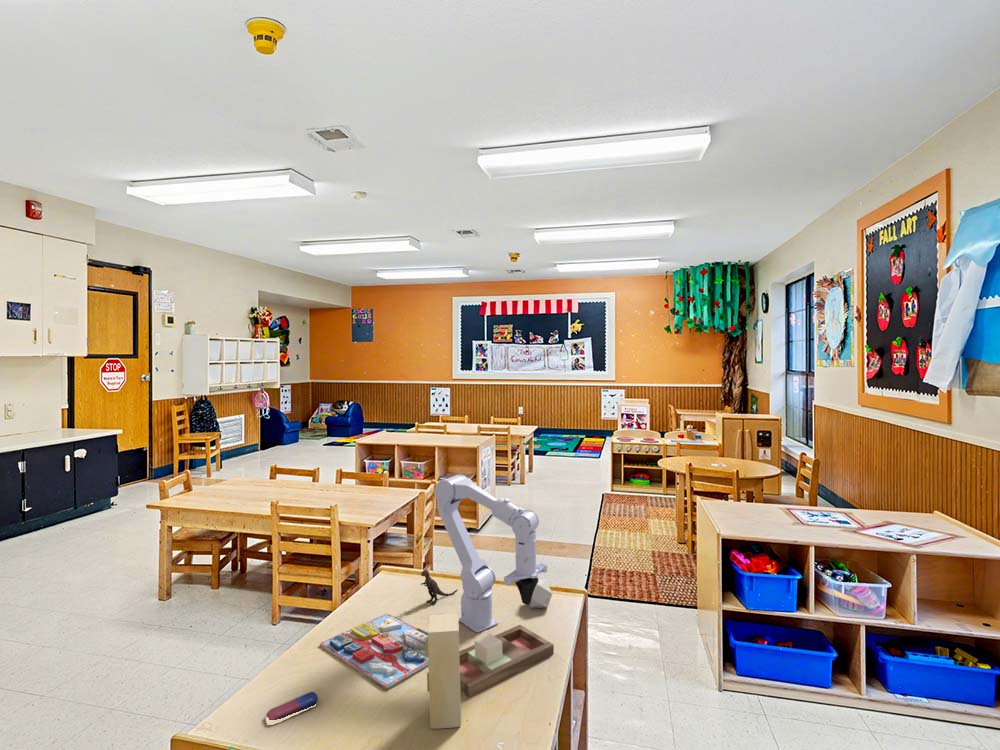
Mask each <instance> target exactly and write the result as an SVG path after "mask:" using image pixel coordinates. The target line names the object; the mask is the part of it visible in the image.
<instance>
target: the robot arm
mask: <svg viewBox="0 0 1000 750" xmlns="http://www.w3.org/2000/svg"><path fill="white" fill-rule="evenodd" d="M433 493H434V497H435V498H436V502H437V506H436V507H437V512H438V514H439V517H440V520H441V521H442V523H443V525H444V528H445V530H446V533H447V534H448V536H449V539H450V541H451V543H452V545H453V548H454V550H455V552H456V555H457V557H458V560H459V561H460V564H461V566H462V567H461V572H460V575H459V577H460V579H461V583H462V591H463V593H462V595H461V597H460V618H459V617H458V620H459V622H461V623H462V624H463V625H465V626H466V627H468V628H469V629H471V630H472V631H474V632H475V633H481V632H482V631H485V630H487V629H489V628H492V627H494V626H496V625H498V624H499V621H497V620H496V619H494V618H493V602H492V599H493V598H492V597H493V595H492V591H493V586H494V585H495V583H496V574H495V571H494V570H493V569H492V568H491V567H490V566H489V565H488V564H489V563H487V561H486V560H485V559H483V558H481V557H479V554H478V552H477V549H476V547H475V546H474V543H473V541H472V539H471V537H470V534H469V532H468V530H467V528H466V526H465V523H464V521H463V519H462V517H461V515H460V512H459V509H458V507H459V505H460V503H461V500H462V499H470V500H471V501H474V502H475V503H477V504H479V505H481V506H483V507H485V508H487V509H489V510H490V511H491V514H492V516H493V518H496V519H498V520H500V521H501V522H502V523H504V524H506V525H507V526H508V527H510V528H511V530H512V532H513V533H514V535H515V538H514V539H515V541H514V542H515V569H514V570H513V571H511V572H510V573H508V574H507V575H506V576H503V584H504V585H506V586H507V587H509V586H510V587H511V586H512V584H513V583H515V585H516V587H517V590H518V591H519V595H520V598H521V603H522V604H524V605H526V606H528V605H530V603H531V599H532V595H533V591H534V589H535V587H536V585H537V583H538V580H539V576H538V575H539V574H541V573H547V572H548V565H547V564H545V563H540V564H539V563H538V564H537V537H536V536H537V535H536V534H537V533H536V529H537V528H538V526H539V524H540V519H539V517H538V514H536V512H534V511H533V510H532V509H524V508H523V507H520V506H517V505H515V504H514V503H513V502H510V499H509V498H507V497H506V498H503V497H501V498H498V499H497V498H496V497H495V496H493V495H491V494H490V493H488V492H487V491H485V490H484V489H483V488H481V487H480V486H478V485H477V484H475V483H474V482H473V480H472V479H471V478H469V477H467V476H465V475H463V474H462V473H458V474H454V475H453V476H451V477H449V478H446V479H442V480H439V481H438V482H437V483H436V486H435V488H434V492H433Z"/></svg>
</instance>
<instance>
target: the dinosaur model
mask: <svg viewBox="0 0 1000 750" xmlns="http://www.w3.org/2000/svg"><path fill="white" fill-rule="evenodd" d="M420 575H421V577H424V578H425V580H424V582H421V583H420V586H422V585H423V586H424V587H426V588H427V590H428V594H429V596H430V599H428V600H426V601H425V602H426V603H427V604H429V603H430V605H431V606H434V605H436V603H437V602H438V595H439V596H441V597H449V596H452V595H454V594H455V593H457V592H458V589H456V590H454V591H452V592H451V593H445V592H444V591H442V590H441V589H440V587H439V585H438V583H437V581H435V580H434V579H433V578H432V577H431V576H430V572H429V569H423V570H422V571H421V573H420Z"/></svg>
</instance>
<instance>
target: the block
mask: <svg viewBox="0 0 1000 750" xmlns="http://www.w3.org/2000/svg"><path fill="white" fill-rule="evenodd" d="M474 645H475V656H476V657H477V658H479V659H480V660H482V661H483V662H484V663H486V664H489V663H491V662H493V661H495V660H497V659H499V658H501V657H502V641H501V640H499V639H498V638H496V637H495V635H493V634H492V633H488V634H485V635H484V636H481V637H479V638H477V639H475V640H474Z"/></svg>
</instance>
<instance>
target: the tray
mask: <svg viewBox="0 0 1000 750" xmlns="http://www.w3.org/2000/svg"><path fill="white" fill-rule="evenodd" d="M494 636H495V637H496V638H498V639H499V640H501V641H502V657H501V658H499V659H497V660H495V661H493V662H491V663H489V664H486V663H484V662H483V661H482V660H480V659H479V658H477V657H476V656H475V644H472V645H469V646H468V647H466V648H463V649H462V650H461V649H460V650H459V660H460V692H463V693H464V694H465V695H466V696H467V697H468V698H470V697H472V696H474V695H476V694H478V693H479V692H482V691H483V690H485V689H487V688H489V687H492V686H493V685H495V684H497V683H499V682H501V681H503V680H505V679H507V678H509V677H510V676H513V675H515V674H517V673H519V672H520V671H521V672H522V671H523V670H525V669H527V668H528V667H531V666H532V665H534V664H536V663H538V662H540V661H542V660H544V659H546V658H548V657H550V656H553V654H554V649H555V645H554V643H552V642H551V641H549V640H546V639H545V638H543V637H542V636H540V635H539V634H536V633H535V632H534V631H531V630H530V629H528V628H527V627H525V626H523V625H521V624H519V625H516V626H513V627H512V628H510V629H507V630H505V631H502V632H500V633H498V634H496V635H494Z"/></svg>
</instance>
